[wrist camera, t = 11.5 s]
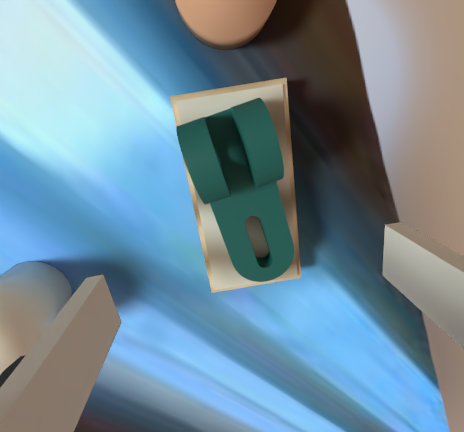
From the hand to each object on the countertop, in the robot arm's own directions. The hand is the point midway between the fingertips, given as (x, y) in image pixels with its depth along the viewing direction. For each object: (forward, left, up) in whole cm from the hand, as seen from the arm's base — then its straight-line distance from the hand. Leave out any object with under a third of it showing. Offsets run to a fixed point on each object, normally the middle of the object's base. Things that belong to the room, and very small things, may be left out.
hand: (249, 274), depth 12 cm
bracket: (+1, +1, -17) cm, 17 cm away
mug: (+9, -27, -19) cm, 34 cm away
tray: (+1, +1, -19) cm, 19 cm away
